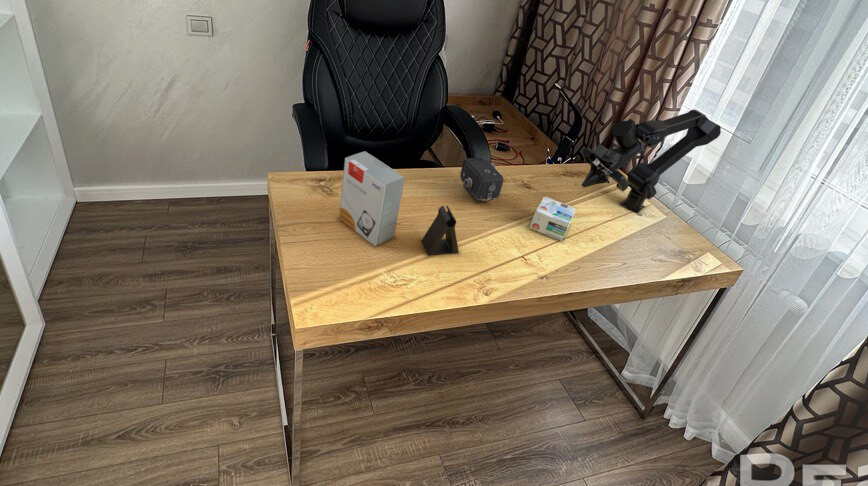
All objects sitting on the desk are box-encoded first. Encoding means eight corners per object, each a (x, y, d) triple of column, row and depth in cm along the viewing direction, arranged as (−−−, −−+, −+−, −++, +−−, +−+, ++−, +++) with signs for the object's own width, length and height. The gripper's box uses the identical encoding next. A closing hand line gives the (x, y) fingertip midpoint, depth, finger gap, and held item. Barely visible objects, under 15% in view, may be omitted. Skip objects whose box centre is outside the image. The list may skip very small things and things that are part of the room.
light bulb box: (576, 207, 157) (570, 224, 149) (569, 225, 161) (562, 242, 152) (543, 195, 160) (535, 210, 151) (536, 213, 164) (528, 228, 155)
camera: (499, 207, 164) (478, 179, 174) (511, 180, 157) (488, 151, 167) (471, 211, 160) (450, 181, 170) (481, 182, 153) (460, 153, 162)
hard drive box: (337, 218, 143) (343, 157, 132) (358, 210, 148) (365, 149, 137) (375, 247, 136) (384, 184, 124) (395, 237, 141) (406, 176, 130)
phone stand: (427, 255, 137) (435, 219, 130) (421, 241, 141) (428, 205, 135) (458, 253, 140) (468, 218, 133) (451, 239, 144) (460, 205, 137)
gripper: (596, 124, 161) (556, 156, 163) (636, 153, 147) (592, 188, 149) (606, 145, 168) (568, 176, 170) (645, 175, 155) (604, 208, 157)
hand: (582, 186), depth 162 cm, fingers closed
